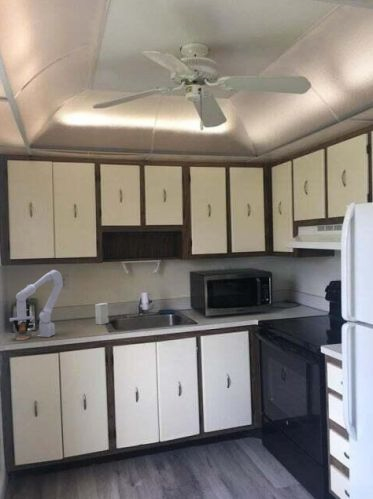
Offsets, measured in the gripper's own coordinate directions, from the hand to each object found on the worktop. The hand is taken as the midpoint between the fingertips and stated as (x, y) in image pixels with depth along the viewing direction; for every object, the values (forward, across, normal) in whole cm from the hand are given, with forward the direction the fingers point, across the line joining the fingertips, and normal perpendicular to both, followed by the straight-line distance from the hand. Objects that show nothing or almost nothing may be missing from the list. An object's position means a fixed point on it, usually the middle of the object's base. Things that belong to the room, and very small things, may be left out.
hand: (22, 331), depth 265 cm
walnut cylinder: (+2, 0, 0) cm, 2 cm away
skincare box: (+5, -54, -23) cm, 59 cm away
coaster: (+5, 0, 0) cm, 5 cm away
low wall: (+5, 0, -7) cm, 8 cm away
